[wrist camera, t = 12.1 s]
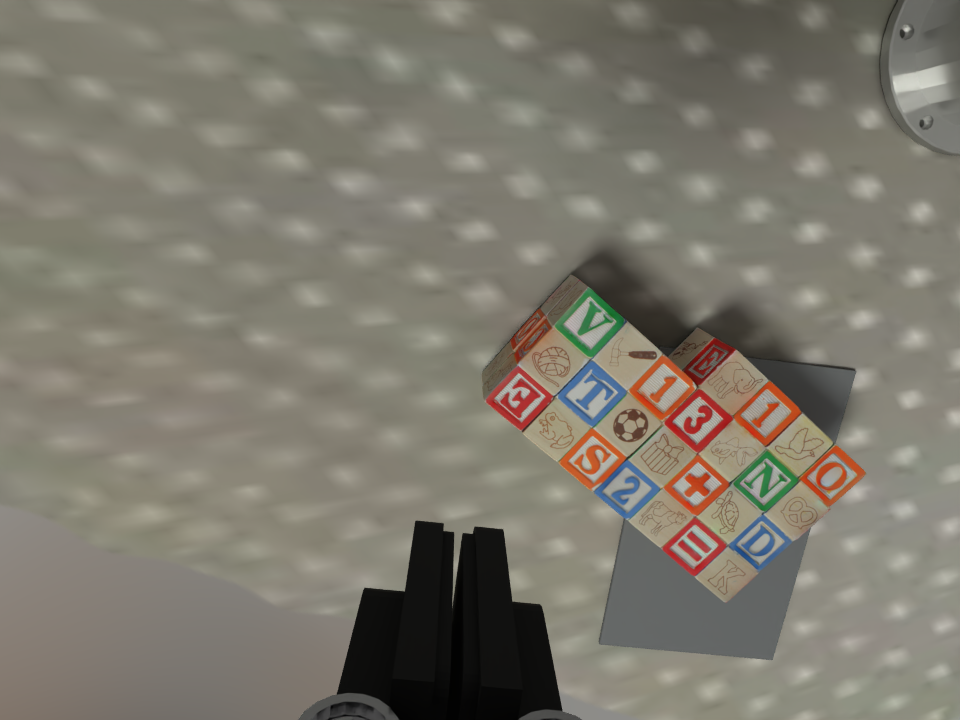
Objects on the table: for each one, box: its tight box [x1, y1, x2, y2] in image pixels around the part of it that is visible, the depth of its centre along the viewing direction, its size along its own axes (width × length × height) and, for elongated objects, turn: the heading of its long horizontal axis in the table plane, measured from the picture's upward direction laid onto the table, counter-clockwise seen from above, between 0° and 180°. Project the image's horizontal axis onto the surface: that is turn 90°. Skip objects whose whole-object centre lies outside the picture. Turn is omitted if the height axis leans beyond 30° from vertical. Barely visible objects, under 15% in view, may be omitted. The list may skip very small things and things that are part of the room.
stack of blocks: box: [482, 275, 866, 602], centre depth 40 cm, size 21×6×12 cm
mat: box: [599, 347, 856, 660], centre depth 46 cm, size 14×24×1 cm, turn 173°
